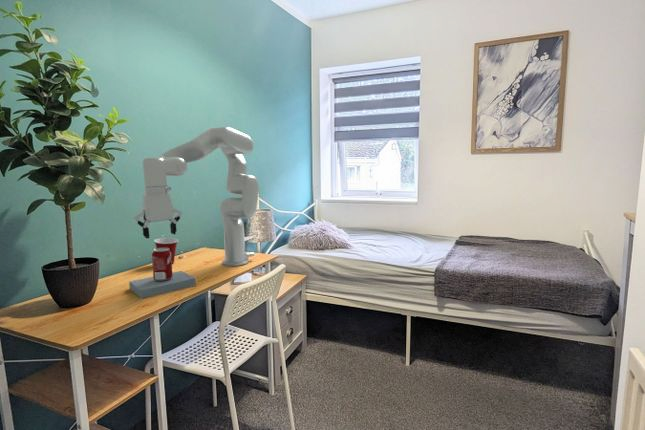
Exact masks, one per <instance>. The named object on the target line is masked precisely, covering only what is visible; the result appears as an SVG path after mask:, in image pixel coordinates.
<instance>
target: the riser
mask: <svg viewBox="0 0 645 430" xmlns="http://www.w3.org/2000/svg"><path fill="white" fill-rule="evenodd" d="M172 275H173V277H172V278H171V279H170V280H167V281H162V282H159V281H156V280H154V279H153V276H149V277H144V278H140V279H135V280H129V283H128V284H129V290H131V292H133V293H134V294H135V295H137V296H138V297H139V298H140V299H145V298H149V297H154V296H159V295H161V294H166V293H171V292H175V291H178V290H182V289H183V290H184V289H187V288H191V287H195V286H197V280H196V279H197V277H195V276H193V275H190V274H188V273H187V272H185V271H183V270H179V271H174V272H173V271H172Z"/></svg>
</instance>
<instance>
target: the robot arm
mask: <svg viewBox="0 0 645 430" xmlns="http://www.w3.org/2000/svg"><path fill="white" fill-rule="evenodd" d="M219 148H220V150H221V152H222V153H223V154H224V155H223V156H225V158H226V159H227V163H228V169H227V176H226V177H227V178H226V185H225V186H226V191H227V193H228V194H230V195H234V196H236V195H237V196H241V197H234V196H233V197H225V198H224V199H223V200H222V201H221V203H220V206H219V207H220V213H221V214H220V215H221V219H222V224H223V240H224V241H223V242H224V243H223V245H224V247H223V248H224V259H222V261H221V265H223V266H227V267H236V266H237V267H238V266H244V265H247V264H249V260H250V259H249V258H251V257H255V253H254V252H252V251H251V252H246V245H245V243H246V241H245V238H246V237H245V225H244V222H243V219H247V220H248V219H251V218H253V217H254V216H255V215H256V212H257V208H258V207H257V206H258V199H259V192H260V189H259V188H260V185H259V181H258V179H257V178H256V177H255V176H254V175H251V174H247V170H248V169H247V168H248V165H247V160H246V158H245V157H244V155H248V154H250V153H252V151H253V149H254V141H253V139H252V138H251V137H250V136H249V135H248V134H245V133H243V132H241V131H238V130H236V129H234V128H232V127H230V126H219V127H211V128H209V129H207V130H205V131H204V132H203V133H200V134H198V135H197V136H195V137H194V138H192V139H191V140H190V141H188V142H185V143H182V144H181V145H178V146H175V147H173V148H170V149H169V150H167V151H165V152H163V153H162V154H160V155H159V156H157V157H145V158H143V159H142V170H143V180H144V192H145V193H144V194H143V195H142V211H141V212H139V213H137V214H136V215H134V216H133V220H134V222H136V224H137V225H138V226H140V227H142V235H143V237H144V238H145V239H150V230H149V227H148V226H149V225H150V223H154V222H155V223H156V222H164V221H169V222H170V224H169V227H170V234H172V235H177V233H176V232H177V231H178V230H177V224H178V222H179V221H180V220H181V217H182V215H183V211H180V210H178V209H176V208H174V207H173V202H172V198H171V195H170V193H169V191H171V190H172V187H170V186H168V182H167V177H181V176H183V175H185V174H186V173H187V171H188V163H192V162H197V161H200V160H202V159H204V158H206V157H207V156H208V155H210V154H211V153H213V152H214V151H215V150H217V149H219ZM174 214H176V216H175V215H174ZM174 216H175V217H174ZM141 217H142V219H143V222H142V221H141V220H140V218H141Z"/></svg>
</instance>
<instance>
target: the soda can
mask: <svg viewBox="0 0 645 430" xmlns="http://www.w3.org/2000/svg"><path fill="white" fill-rule="evenodd" d="M152 251H153V252H152V253H151V263H152V277H153V279H154V280H156V281H159V282H162V281H167V280H170V279H171V278H172V277H173V275H172V273H173V264H172V259H171V252H170V251H169V248H154V249H153V250H152Z"/></svg>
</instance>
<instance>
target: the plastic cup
mask: <svg viewBox="0 0 645 430" xmlns="http://www.w3.org/2000/svg"><path fill="white" fill-rule="evenodd" d="M178 242H179V239H177V238H175V237H174V238H172V237H162V238H156V239H154V240H153V243H154V244H155V247H156V248H169V251H170V252H171V259H172V265H174V264H175V256H176V251H177V244H178ZM156 248H155V249H156Z"/></svg>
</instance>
